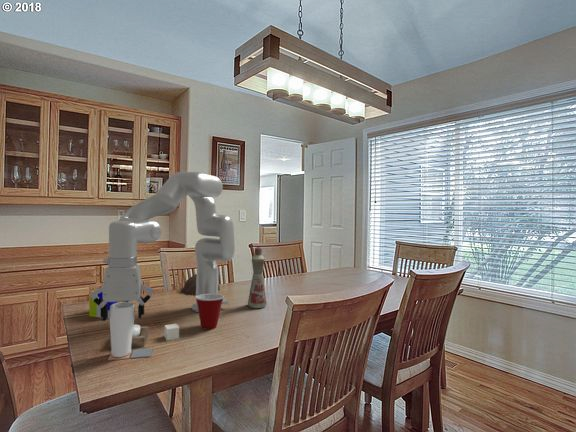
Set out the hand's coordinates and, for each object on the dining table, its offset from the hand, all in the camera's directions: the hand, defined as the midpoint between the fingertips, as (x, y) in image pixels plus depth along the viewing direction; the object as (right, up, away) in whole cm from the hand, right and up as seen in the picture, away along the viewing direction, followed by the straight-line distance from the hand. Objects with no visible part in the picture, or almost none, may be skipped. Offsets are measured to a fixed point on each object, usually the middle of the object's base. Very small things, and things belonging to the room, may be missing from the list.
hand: (122, 318), depth 98 cm
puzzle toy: (-24, -10, +36) cm, 44 cm away
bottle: (+36, -12, +53) cm, 65 cm away
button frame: (-3, -11, +10) cm, 15 cm away
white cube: (+10, -11, +14) cm, 21 cm away
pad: (-1, -11, 0) cm, 11 cm away
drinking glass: (0, -11, 0) cm, 11 cm away
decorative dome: (+3, -10, +77) cm, 77 cm away
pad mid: (+5, -11, +1) cm, 12 cm away
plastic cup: (+20, -12, +26) cm, 34 cm away
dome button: (-2, -10, +9) cm, 14 cm away
